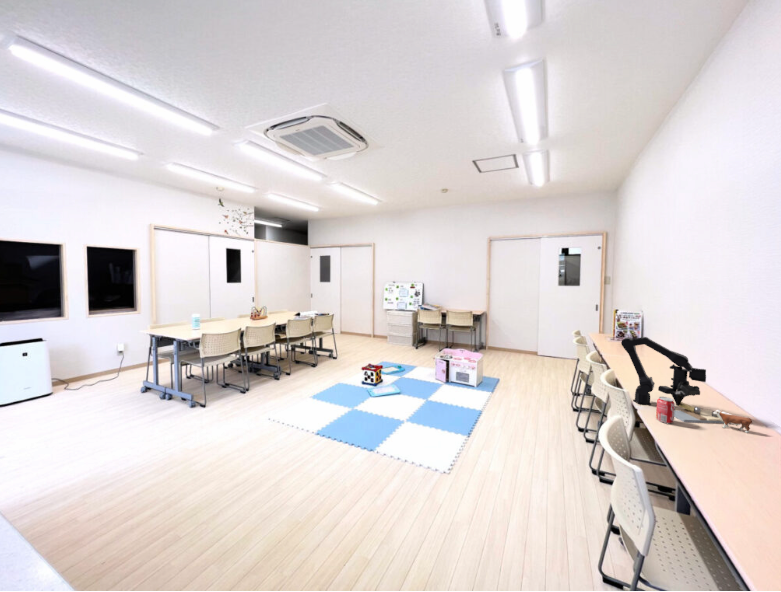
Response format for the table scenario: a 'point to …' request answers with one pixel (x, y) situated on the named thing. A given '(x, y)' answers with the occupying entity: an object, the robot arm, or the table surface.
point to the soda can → (665, 410)
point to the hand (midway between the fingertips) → (677, 405)
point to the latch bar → (690, 408)
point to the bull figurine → (733, 420)
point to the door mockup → (697, 416)
